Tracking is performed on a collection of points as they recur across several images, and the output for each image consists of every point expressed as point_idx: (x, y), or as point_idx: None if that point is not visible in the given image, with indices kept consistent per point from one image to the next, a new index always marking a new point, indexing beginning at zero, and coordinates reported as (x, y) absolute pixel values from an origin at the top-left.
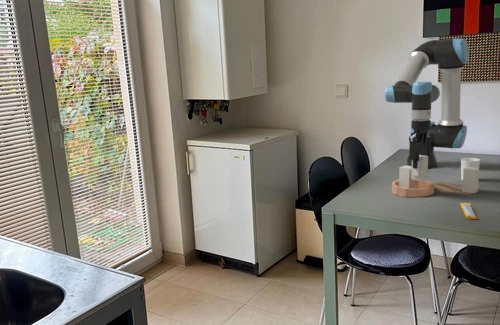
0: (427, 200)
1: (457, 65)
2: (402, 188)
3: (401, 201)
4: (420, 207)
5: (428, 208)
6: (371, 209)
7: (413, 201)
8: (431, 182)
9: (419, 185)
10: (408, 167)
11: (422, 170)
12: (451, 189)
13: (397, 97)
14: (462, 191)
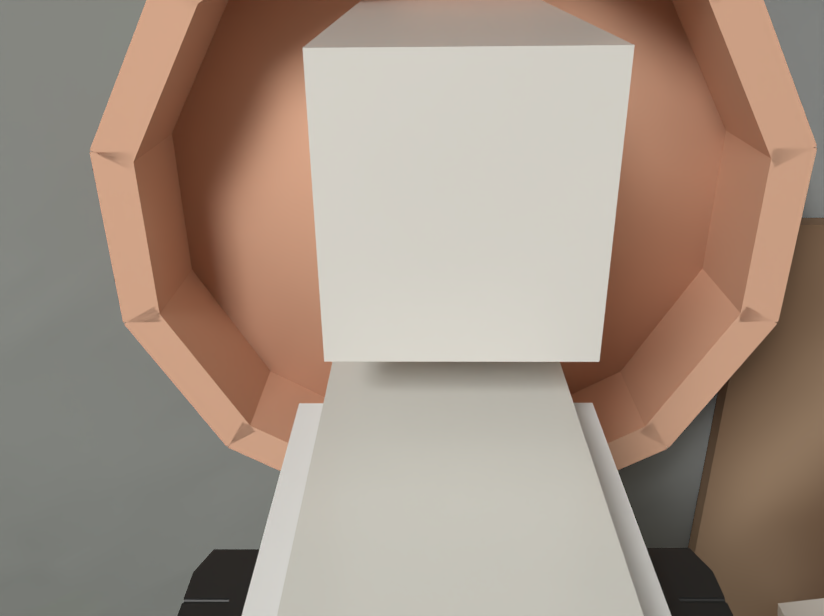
0: (276, 484)
1: None
2: (113, 263)
3: (7, 315)
4: (28, 544)
5: (69, 600)
6: None
7: (125, 406)
8: (702, 398)
9: (726, 153)
10: (438, 272)
11: None
12: (810, 498)
13: None
14: (778, 607)
